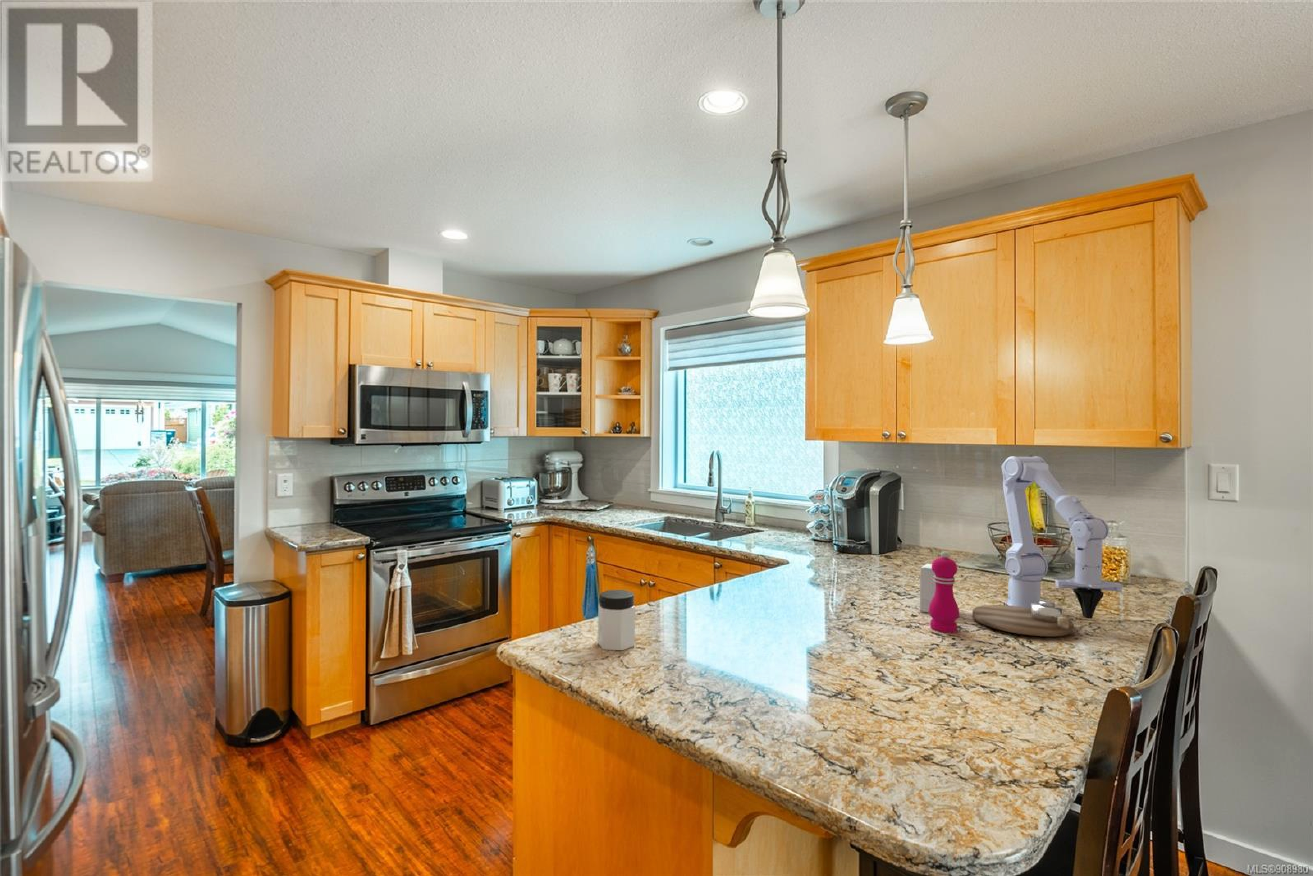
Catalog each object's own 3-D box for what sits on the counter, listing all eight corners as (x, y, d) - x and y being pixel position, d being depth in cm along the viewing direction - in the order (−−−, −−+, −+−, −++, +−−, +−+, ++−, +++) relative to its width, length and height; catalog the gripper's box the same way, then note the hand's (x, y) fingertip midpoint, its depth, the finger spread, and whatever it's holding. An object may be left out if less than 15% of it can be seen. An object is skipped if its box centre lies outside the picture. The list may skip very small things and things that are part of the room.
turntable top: (962, 606, 176) (962, 594, 176) (1051, 612, 171) (1051, 599, 171) (988, 632, 153) (988, 618, 153) (1091, 639, 148) (1091, 624, 148)
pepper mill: (952, 625, 162) (953, 549, 162) (963, 634, 154) (964, 554, 154) (924, 624, 162) (925, 548, 162) (933, 632, 155) (935, 553, 155)
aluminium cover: (1026, 614, 165) (1026, 597, 165) (1055, 616, 163) (1055, 599, 163) (1037, 622, 158) (1037, 604, 158) (1067, 624, 157) (1067, 606, 157)
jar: (595, 640, 147) (595, 590, 147) (628, 637, 150) (628, 588, 150) (603, 653, 139) (603, 600, 139) (638, 649, 141) (638, 597, 141)
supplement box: (947, 616, 169) (947, 570, 169) (918, 611, 174) (919, 567, 174) (953, 610, 175) (953, 566, 175) (925, 605, 180) (926, 562, 180)
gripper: (1064, 566, 156) (1063, 620, 156) (1128, 569, 153) (1127, 624, 153) (1052, 561, 163) (1051, 612, 163) (1113, 564, 160) (1112, 615, 160)
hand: (1087, 617), depth 159 cm, fingers closed
